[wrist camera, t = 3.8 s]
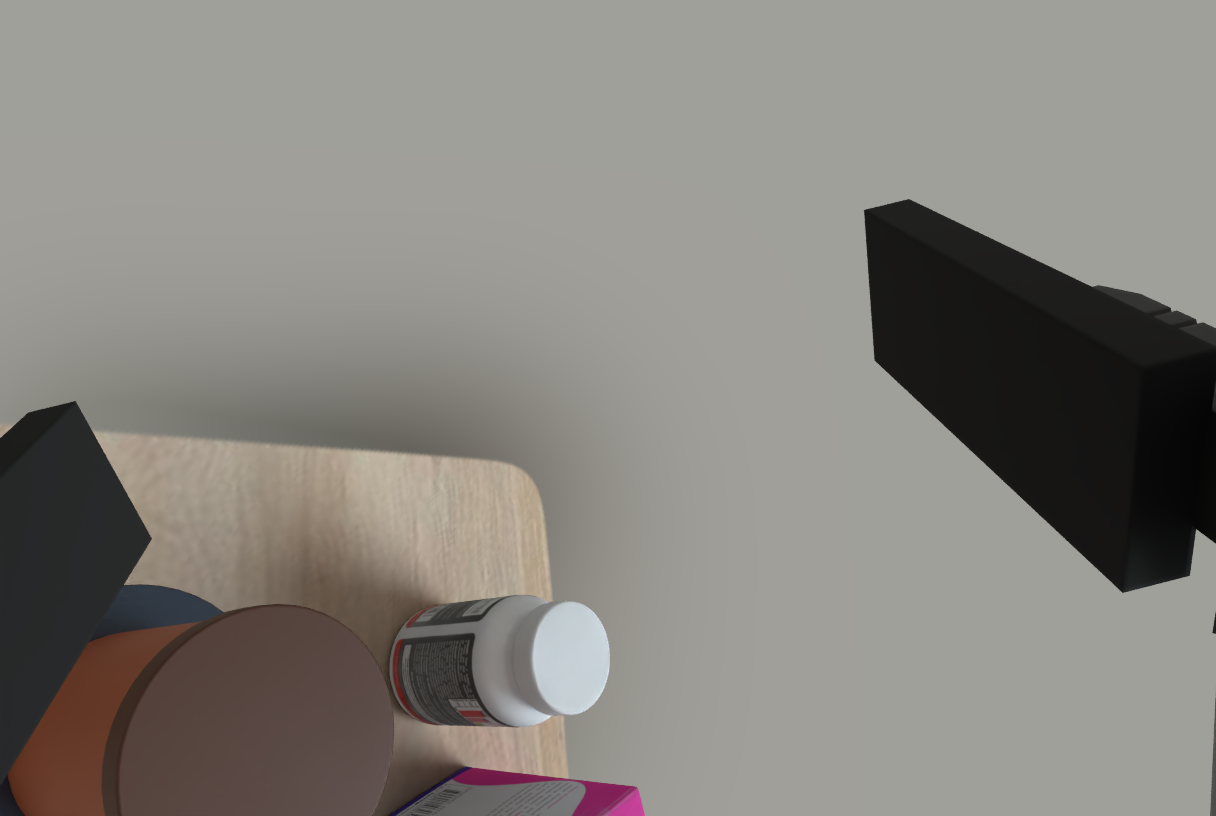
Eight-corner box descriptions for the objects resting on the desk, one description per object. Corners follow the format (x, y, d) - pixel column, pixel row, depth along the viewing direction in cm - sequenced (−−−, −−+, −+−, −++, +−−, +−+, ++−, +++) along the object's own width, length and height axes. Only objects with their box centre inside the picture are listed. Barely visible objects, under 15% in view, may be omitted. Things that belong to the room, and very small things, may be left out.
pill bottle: (454, 743, 42) (596, 752, 36) (365, 696, 40) (502, 696, 33) (494, 635, 46) (631, 625, 39) (414, 584, 43) (547, 565, 36)
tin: (-168, 723, 27) (-141, 728, 23) (114, 548, 33) (173, 528, 29) (17, 940, 29) (71, 980, 25) (247, 734, 35) (319, 739, 31)
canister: (-57, 730, 24) (44, 745, 17) (161, 582, 29) (305, 549, 22) (88, 908, 25) (232, 984, 19) (271, 738, 30) (437, 751, 24)
